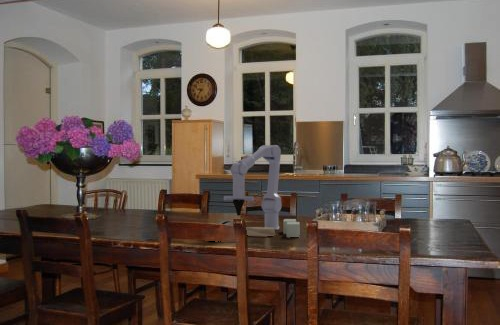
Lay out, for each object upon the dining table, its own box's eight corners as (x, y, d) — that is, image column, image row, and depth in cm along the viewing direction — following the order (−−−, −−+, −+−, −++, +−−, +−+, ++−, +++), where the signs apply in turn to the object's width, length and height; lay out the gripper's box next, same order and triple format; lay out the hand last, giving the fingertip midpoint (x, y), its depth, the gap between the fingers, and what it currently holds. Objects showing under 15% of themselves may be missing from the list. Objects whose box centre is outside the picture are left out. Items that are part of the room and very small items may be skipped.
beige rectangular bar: (246, 235, 238) (246, 226, 238) (274, 235, 236) (274, 227, 236) (245, 236, 234) (245, 228, 234) (273, 237, 232) (273, 228, 232)
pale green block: (284, 231, 248) (284, 218, 247) (295, 231, 247) (295, 219, 247) (283, 233, 240) (283, 221, 239) (295, 234, 239) (295, 221, 239)
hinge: (223, 236, 233) (229, 217, 231) (231, 240, 231) (238, 221, 229) (206, 242, 217) (213, 221, 216) (215, 246, 216) (221, 225, 214)
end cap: (287, 234, 237) (287, 221, 237) (299, 234, 237) (299, 221, 237) (286, 237, 229) (286, 224, 229) (299, 237, 229) (299, 224, 229)
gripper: (222, 187, 233) (222, 216, 233) (252, 188, 231) (252, 216, 232) (225, 186, 240) (225, 214, 240) (254, 187, 238) (254, 214, 239)
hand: (238, 215), depth 236 cm, fingers closed
